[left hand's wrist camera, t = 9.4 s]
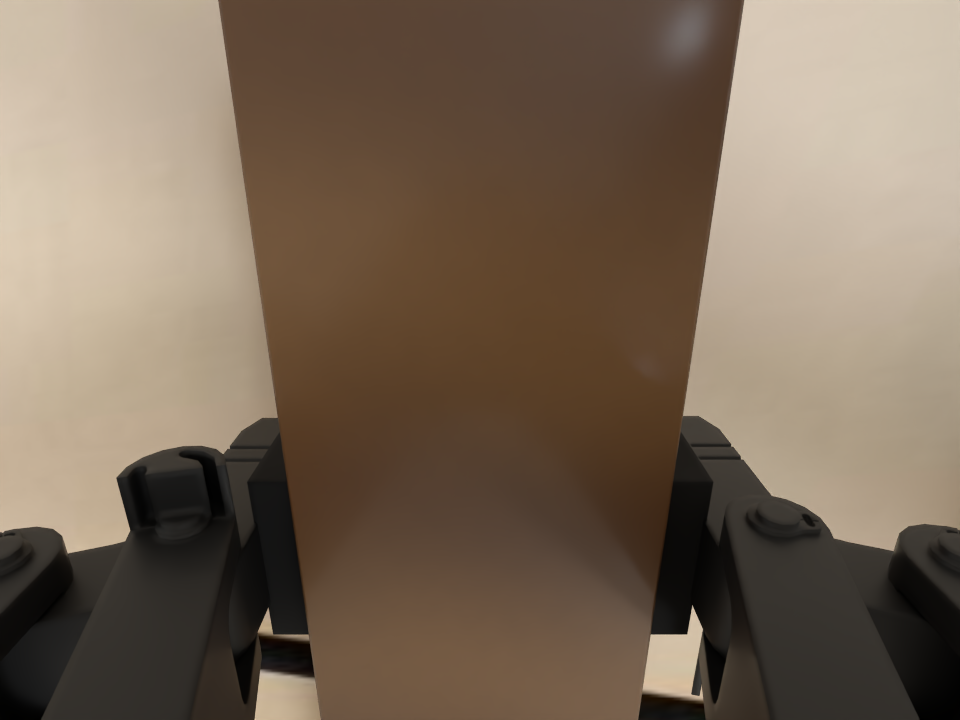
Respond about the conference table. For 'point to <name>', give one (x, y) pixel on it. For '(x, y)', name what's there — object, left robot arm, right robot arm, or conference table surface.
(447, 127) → the post
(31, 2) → the conference table surface
